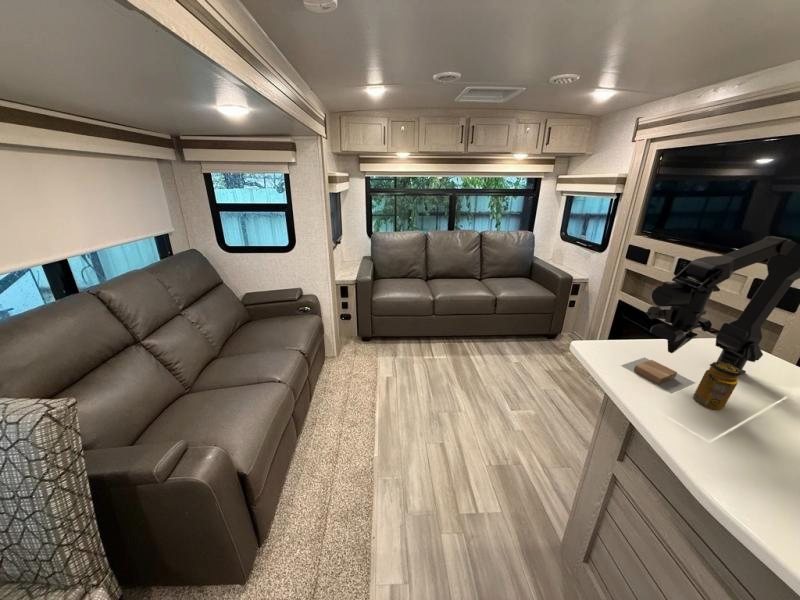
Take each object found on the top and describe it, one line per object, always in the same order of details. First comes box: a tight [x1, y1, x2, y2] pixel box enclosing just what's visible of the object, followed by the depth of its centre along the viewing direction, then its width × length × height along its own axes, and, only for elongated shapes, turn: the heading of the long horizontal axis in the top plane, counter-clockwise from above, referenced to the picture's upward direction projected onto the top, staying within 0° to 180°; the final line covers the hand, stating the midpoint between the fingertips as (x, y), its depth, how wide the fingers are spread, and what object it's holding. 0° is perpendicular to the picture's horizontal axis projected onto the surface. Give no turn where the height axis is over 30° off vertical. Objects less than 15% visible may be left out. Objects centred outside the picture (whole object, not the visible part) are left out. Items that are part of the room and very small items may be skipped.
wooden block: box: [634, 359, 678, 384], centre depth 92 cm, size 2×7×8 cm
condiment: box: [692, 361, 741, 411], centre depth 80 cm, size 7×8×12 cm
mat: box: [620, 357, 696, 394], centre depth 93 cm, size 12×14×1 cm
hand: (670, 352), depth 92 cm, fingers closed
